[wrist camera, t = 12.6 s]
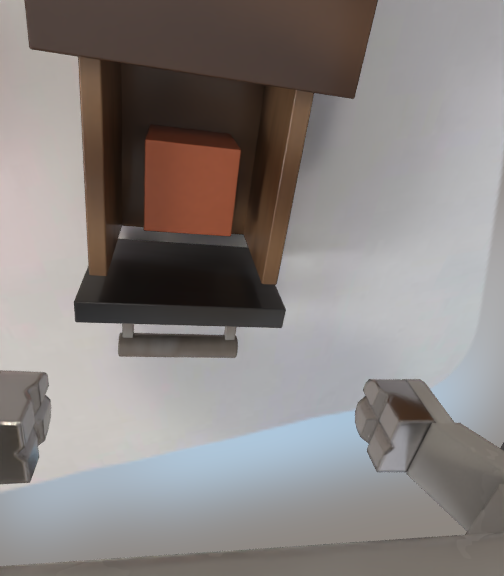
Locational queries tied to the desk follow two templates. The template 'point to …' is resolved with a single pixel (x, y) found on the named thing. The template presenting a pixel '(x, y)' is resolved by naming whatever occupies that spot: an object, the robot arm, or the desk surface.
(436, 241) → the desk surface
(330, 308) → the desk surface
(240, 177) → the drawer
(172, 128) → the block
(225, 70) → the cabinet
